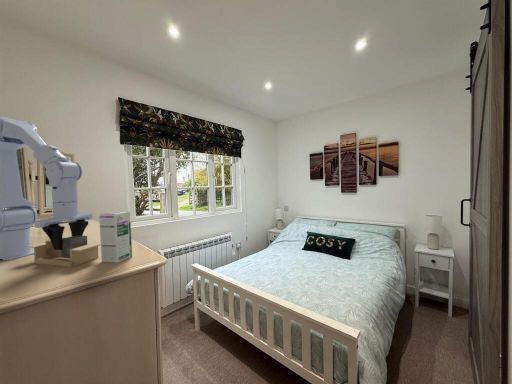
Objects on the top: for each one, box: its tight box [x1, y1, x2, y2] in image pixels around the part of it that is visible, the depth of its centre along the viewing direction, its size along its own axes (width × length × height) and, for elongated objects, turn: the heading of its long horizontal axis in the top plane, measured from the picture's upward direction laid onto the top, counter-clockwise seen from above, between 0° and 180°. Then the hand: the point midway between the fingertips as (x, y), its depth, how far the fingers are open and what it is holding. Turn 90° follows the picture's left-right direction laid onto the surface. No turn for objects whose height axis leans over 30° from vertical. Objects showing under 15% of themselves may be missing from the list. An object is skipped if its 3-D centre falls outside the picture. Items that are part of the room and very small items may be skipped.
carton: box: [26, 241, 101, 268], centre depth 66 cm, size 20×8×5 cm, turn 76°
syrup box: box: [98, 210, 133, 264], centre depth 66 cm, size 6×6×14 cm
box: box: [44, 235, 88, 258], centre depth 66 cm, size 10×4×6 cm, turn 76°
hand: (67, 247), depth 65 cm, fingers closed on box, 4 cm apart
